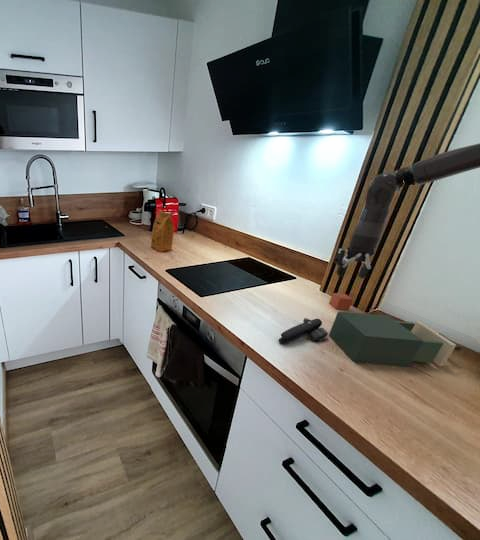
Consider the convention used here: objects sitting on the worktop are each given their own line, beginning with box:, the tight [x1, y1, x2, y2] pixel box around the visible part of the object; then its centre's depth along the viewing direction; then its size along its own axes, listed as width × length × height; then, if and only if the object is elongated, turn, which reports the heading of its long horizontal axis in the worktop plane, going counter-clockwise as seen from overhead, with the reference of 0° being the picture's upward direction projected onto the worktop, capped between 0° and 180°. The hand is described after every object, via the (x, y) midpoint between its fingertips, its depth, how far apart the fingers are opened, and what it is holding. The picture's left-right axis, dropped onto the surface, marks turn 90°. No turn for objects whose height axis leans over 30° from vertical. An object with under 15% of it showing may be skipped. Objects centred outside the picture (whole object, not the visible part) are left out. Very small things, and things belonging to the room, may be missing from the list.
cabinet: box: [328, 311, 423, 368], centre depth 84 cm, size 15×13×9 cm
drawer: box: [395, 320, 463, 367], centre depth 83 cm, size 18×11×7 cm, turn 84°
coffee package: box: [150, 209, 175, 253], centre depth 162 cm, size 10×12×22 cm
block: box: [328, 292, 354, 311], centre depth 109 cm, size 5×5×5 cm
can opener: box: [278, 317, 329, 345], centre depth 89 cm, size 18×7×6 cm, turn 110°
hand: (350, 276), depth 105 cm, fingers open, 7 cm apart
